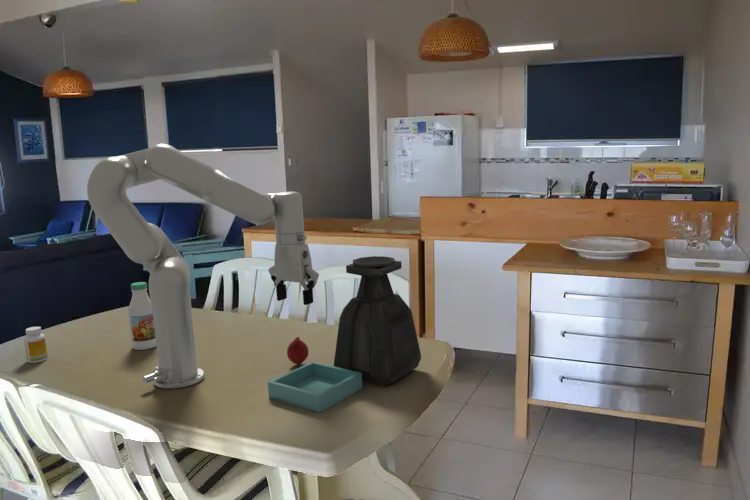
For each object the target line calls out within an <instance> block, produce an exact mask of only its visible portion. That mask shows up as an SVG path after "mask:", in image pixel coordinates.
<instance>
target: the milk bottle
mask: <svg viewBox="0 0 750 500" xmlns="http://www.w3.org/2000/svg"><path fill="white" fill-rule="evenodd" d="M130 290H131V292H132V293H131V294H132V295H131V300H130V303H129V306H128V323H129V332H130V340H131V341H130V342H131V347H132V349H133V350H136V351H143V350H151V349H153V348H155V347H156V348H157V346H156V336H155V327H154V320H153V311H152V304H151V299H150V295H149V294H148V292H147V290H148V283H147V282H145V281H139V282H133V283H130Z"/></svg>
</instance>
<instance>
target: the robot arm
mask: <svg viewBox="0 0 750 500" xmlns="http://www.w3.org/2000/svg"><path fill="white" fill-rule="evenodd" d="M159 180H161V181H163V182H165V183H168V184H169V185H171V186H174V187H176V188H178V189H180V190H182V191H185V192H187V193H189V194H191V195H193V196H194V197H197V198H199V199H200V200H203V201H204V202H206V203H209V204H212V205H214V206H216V207H218V208H220V209H222V210H223V211H225V212H228V213H230V214H232V215H234V216H236V217H239V218H240V219H242V220H245V221H247V222H249V223H251V224H254V225H259V226H260V225H266V224H267V223H270V222H271V220H274V230H275V231H274V232H275V241H276V243H275V247H274V265H273V266H271V267H269V268H268V273H269V275H270V279H271V281H272V282H273V285H274V286H275V289H276V300H277V301H278V302H279V301H282V300H286V299H287V298H288V295H287V286H286V285H287V284H285V282H289V283H290V282H291V283H300V285H301V287H303V290H302V300H303V302H302V303H303V305H304V306H307V305H311V304H312V303H314V293H313V291H314V290H313V289H315V286H317V285H316V284H317V282H318V279H319V276H320V274H319V273H318V271H315V270H314V269H313V263H312V257H311V251H310V248H309V245H308V243H306V240H307V235H305V224H304V223H305V222H304V210H303V198H302V194H301V193H300V192H298V191H281V192H277V193H272V192H271V193H270V192H257V191H255V190H254V189H251V188H249V187H247V186H246V185H243V184H241V183H239V182H237V181H235V180H234V179H232V178H231V177H229V176H228V175H226V174H225V173H223V172H222V171H220V170H219V169H218V168H215V167H214V166H211V165H210V164H208V163H206V162H204V161H201V160H200V159H197V158H195V157H193V156H191V155H190V154H187V153H185V152H183V151H181V150H178V149H177V148H175V147H174V146H173V145H170V144H167V143H157V144H155V145H153V146H150V147H149V148H145V149H142V150H138V151H134V152H130V153H129V152H128V153H126V154H125V153H124V154H122V155H117V156H108V157H105V158H103V159H102V160H100V161H99V162H98V163H96V165H94V167H93V169H92V171H91V173H90V174H89V178H88V180H87V184H86V185H87V186H86V187H87V188H86V192H87V194H86V195H87V199H88V202H89V205H90V207H91V208H92V210H93V212H94V214H95V215H96V216H97V218H98V219H99V220H100V221H101V223H102V224H103V225H104V227H105V228H106V229H107V231H108V233H109V234H110V235H111V236H112V237H113V239H114V240H115V241H116V242H117V244H118V245H119V247H120V248H121V249H122V250H123V252H124V254H125V255H126V256H127V258H128V259H130V260H131V261H132V262H133V263H136V264H140V265H142V266H143V267H144V268H145V269H146V271H147V272H148V273H149V278H148V291H149V298H150V300H151V304H152V311H153V320H154V327H155V336H156V354H157V365H158V366H155V367H154V370H155V371H153V372H152V373H150V374H145V375H143V376H142V378H141V381H142V383H143V384H145V385H146V384H149V383H151V382H153V384H154V385H155V386H156V387H157V388H160V389H168V390H170V389H179V388H180V389H181V388H186V387H189V386H192V385H195V384H198V383H200V382H201V381H202V380H203V379H204V378H205V371H204V370H203V369H202V368H199V367H198V361H197V350H196V348H197V347H196V341H195V328H194V320H193V310H192V309H193V308H192V301H191V300H192V299H191V291H190V279H191V278H190V277H191V269H190V266H189V264H188V262H187V260H186V259H185V258H184V257H183V255H182V254H181V253H180V252H179V250H178V249H177V248H176V246H175V245H174V244H173V242H172V241H171V240H170V238H169V237H168V236H167V234H166V233H165V231H164V230H162V229H161V228H160V227H159V226H158V225H156V224H154V223H151V222H148V221H147V220H146V219H145V218H144V217H143V215H142V214H141V213H140V211H139V210H138V208H137V207H136V206H135V205H134V204H133V203H132V201H131V200H130V199H129V196H128V195H127V192H126V191H127V189H130V188H134V187H137V186H140V185H144V184H148V183H152V182H156V181H159Z"/></svg>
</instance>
